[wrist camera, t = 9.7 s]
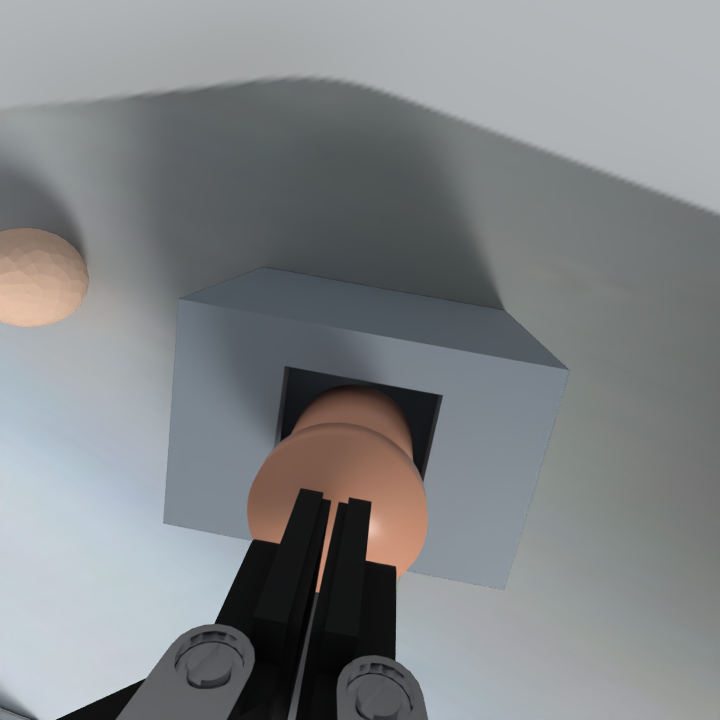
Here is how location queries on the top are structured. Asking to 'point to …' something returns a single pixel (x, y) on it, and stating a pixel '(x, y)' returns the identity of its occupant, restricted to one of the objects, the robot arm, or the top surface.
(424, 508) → the button
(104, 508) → the top surface
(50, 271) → the egg
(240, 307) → the cabinet
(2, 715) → the syrup box
